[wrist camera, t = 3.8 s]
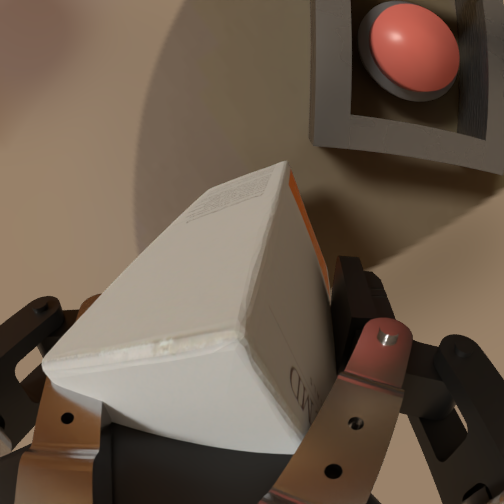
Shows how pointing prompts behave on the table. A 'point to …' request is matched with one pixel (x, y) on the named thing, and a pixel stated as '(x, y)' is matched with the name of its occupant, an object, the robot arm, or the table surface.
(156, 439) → the robot arm
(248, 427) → the skincare box
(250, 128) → the table surface
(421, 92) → the button
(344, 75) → the grey square frame
